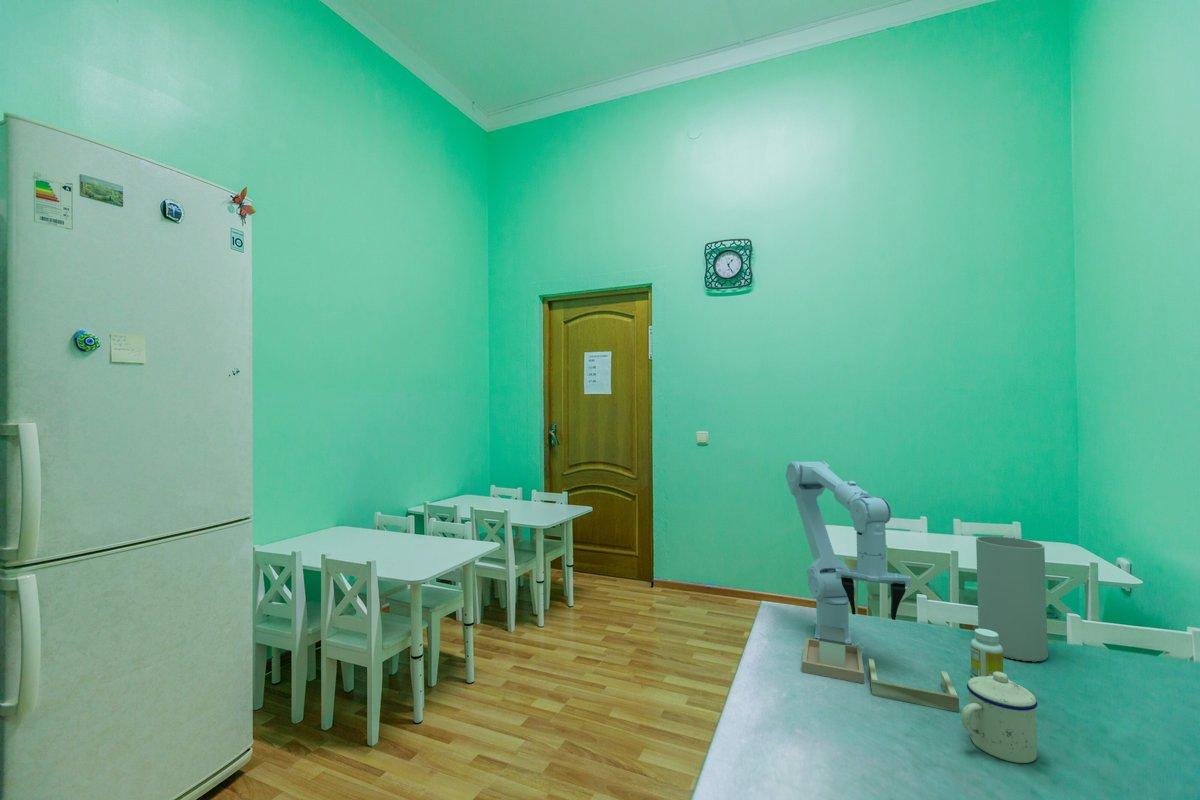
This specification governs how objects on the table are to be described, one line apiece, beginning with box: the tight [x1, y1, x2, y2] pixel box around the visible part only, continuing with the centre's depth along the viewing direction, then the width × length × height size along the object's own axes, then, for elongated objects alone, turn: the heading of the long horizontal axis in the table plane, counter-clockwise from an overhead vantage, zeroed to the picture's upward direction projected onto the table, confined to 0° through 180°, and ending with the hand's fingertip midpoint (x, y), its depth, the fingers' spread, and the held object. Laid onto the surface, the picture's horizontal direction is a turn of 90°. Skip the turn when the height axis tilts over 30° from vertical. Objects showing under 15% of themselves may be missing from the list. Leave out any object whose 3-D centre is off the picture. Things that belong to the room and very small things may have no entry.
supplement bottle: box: [970, 628, 1004, 678], centre depth 106 cm, size 5×5×10 cm
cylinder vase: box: [975, 535, 1049, 663], centre depth 120 cm, size 12×12×25 cm
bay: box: [868, 658, 960, 713], centre depth 102 cm, size 11×14×2 cm
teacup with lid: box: [960, 672, 1038, 764], centre depth 84 cm, size 12×9×12 cm
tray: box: [801, 637, 865, 685], centre depth 112 cm, size 14×12×2 cm
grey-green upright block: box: [818, 625, 846, 668], centre depth 112 cm, size 8×5×6 cm, turn 156°
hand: (873, 615), depth 113 cm, fingers open, 7 cm apart
